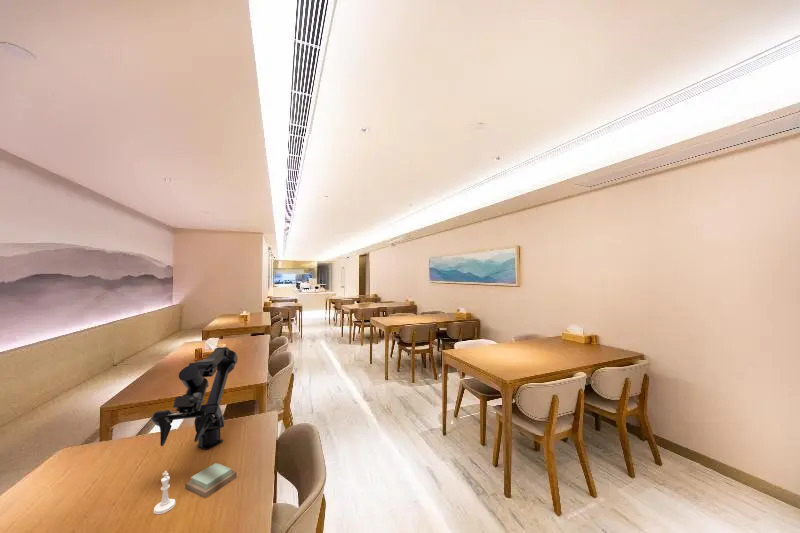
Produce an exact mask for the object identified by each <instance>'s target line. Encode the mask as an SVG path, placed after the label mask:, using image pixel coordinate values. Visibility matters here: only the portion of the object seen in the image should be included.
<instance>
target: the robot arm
mask: <svg viewBox="0 0 800 533" xmlns="http://www.w3.org/2000/svg"><path fill="white" fill-rule="evenodd" d="M238 358H239V357H238V354H237V353H236V352H235V351H234V350H231V349H230V348H229V347H227V346H223V347H222V346H221V347H216V348H214V349H213V351H212V352H211V353H210V354H209V355H208V356H207V357H205V358H204V359H199V360H197V361H195V362H190V363H189V364H188V366H185V367H183V369H181V370H180V371H179V372H178V378H179V381H180V382H181V383H182V385H183V386H184V387H185V388H186V389H187V390H186V392H185V394H183V395H182V396H175V397H174V402H173V407H172V408H173V409H175V410H176V411H177V412H175V413H172V412H171V411H170V410H169V409H167V410H157V411H155V412H154V413H153V414H152V417H151V418H150V421H151V422H153V423H154V424H155V425H156V426H157V427H159V431H160V432H159V434H160V435H159V436H160V441H159V442H160V447H163V446H164V445H165V443H166V441H167V439H168V436H169V434H170V432H171V429H172V425H171V424H172V423H173V422H174V421H177V420H184V419H194V418H195V419H194V428H195V433H196V434H195V435H194V436H195V437H194V439H193V440H194V442H195V443H197V442H198V444H196V446H197V447H198V448H201V449H204V450H210V449H211V448H213V447H215V446H218V445H220V444H221V443H222V442H224V440H223V439H221V429H222V428H224V427H225V417H224V415H223V413H222V409H221V406H220V404H221V401H222V398H223V395H224V390H225V387H226V384H227V381H228V377H229V374H230V373H231V372H232V371H233V370H234V369H235V366H236V365H237V363H238ZM214 375H215V377H214V380H213V383H212V386H211V387H210V388H211V389H210V392H209V394H208V398H207V401H206V403H205V399H204V397H205V395H206V392H207V388H208V387H209V380H208V379H207V378H210V377H213V376H214ZM204 403H205V404H204Z"/></svg>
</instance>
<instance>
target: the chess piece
mask: <svg viewBox="0 0 800 533" xmlns="http://www.w3.org/2000/svg"><path fill="white" fill-rule="evenodd" d="M162 476H163V477H162V478H161V479H160V481H161V483H162V484H161V485H162V486H161V487H160V490H161V491H162V495H161V501H160V502H158V503H157V504H156V505H155V506H154V508H153V514H155V515H162V514H165V513H167V512H169V511H170V510H172V509H173V508H174V507H175V506H176V499H175V498H169V492H168V489H169V488H170V487H171V485H170V483H169V482H170V479H171V477H170V474H169V473H168V470H164V472H162Z"/></svg>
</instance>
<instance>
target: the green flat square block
mask: <svg viewBox="0 0 800 533" xmlns="http://www.w3.org/2000/svg"><path fill="white" fill-rule="evenodd" d="M237 476H238V475H237V471H234V470H232V468H231V467H228V466H225V465H223V464H221V463H218V462H214V463H213V464H211V465H209V466H207V467H206V468H204V469H202V470H201V471H199V472H197V473H196V474H194V475H192V476H191V477H190V480H188V481H187V482H185V483H184V486H185V487H184V489H186V490H187V491H189V492H192V493H194V494H196V495H199V496H200V497H202V498H205V499H206V498H208V497H209V496H210V495H212V494H213V493H215V492H216V491H218V490H220V489H222V488H223V487H224V486H225V485H227V484H229V483H230V482H231V481H232V480H235V479H236V478H238V477H237Z"/></svg>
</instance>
